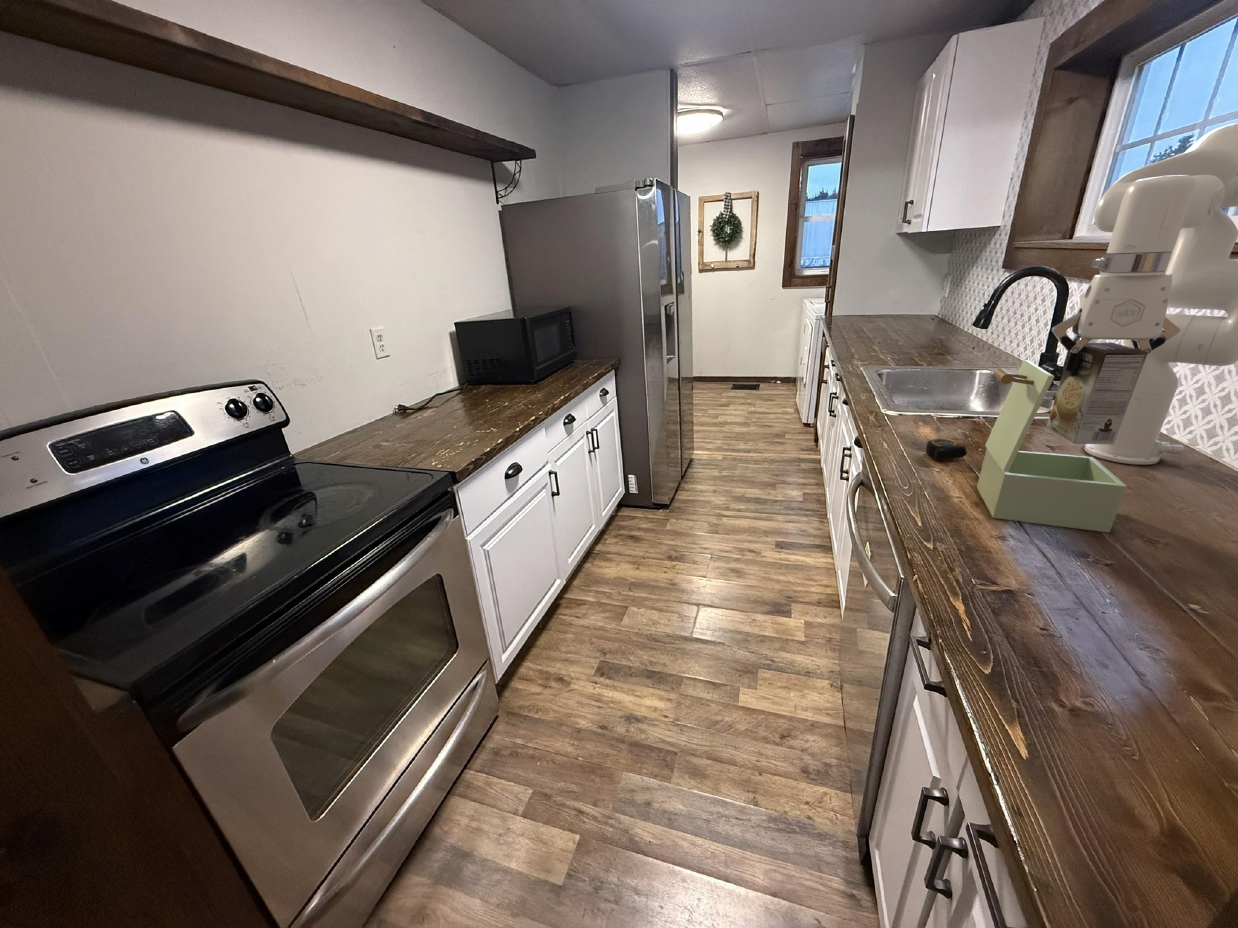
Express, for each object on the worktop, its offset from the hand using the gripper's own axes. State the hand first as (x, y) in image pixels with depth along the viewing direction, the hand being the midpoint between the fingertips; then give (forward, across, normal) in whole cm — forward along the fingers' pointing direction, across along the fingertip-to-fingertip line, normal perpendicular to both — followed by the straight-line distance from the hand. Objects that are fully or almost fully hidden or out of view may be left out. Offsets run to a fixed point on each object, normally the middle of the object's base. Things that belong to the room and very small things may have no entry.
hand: (1098, 375), depth 86 cm
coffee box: (+11, 0, 0) cm, 11 cm away
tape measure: (+25, -16, +21) cm, 36 cm away
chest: (+25, -4, -2) cm, 26 cm away
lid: (+7, -10, -2) cm, 13 cm away
